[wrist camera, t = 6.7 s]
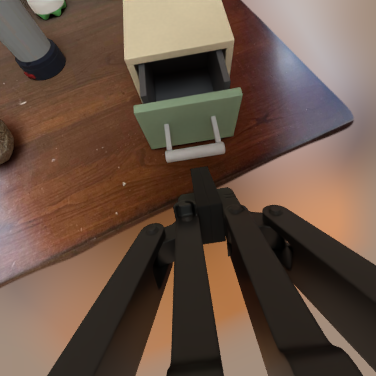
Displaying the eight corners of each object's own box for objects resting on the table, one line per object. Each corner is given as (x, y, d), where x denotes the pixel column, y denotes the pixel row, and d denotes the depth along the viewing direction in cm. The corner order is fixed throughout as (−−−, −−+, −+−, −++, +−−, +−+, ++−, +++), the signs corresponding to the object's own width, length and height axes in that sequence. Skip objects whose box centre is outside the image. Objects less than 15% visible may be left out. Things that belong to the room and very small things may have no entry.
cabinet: (226, 101, 32) (234, 39, 23) (146, 114, 33) (124, 59, 24) (210, 39, 38) (211, -30, 29) (142, 52, 38) (122, -13, 29)
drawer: (241, 167, 27) (254, 133, 20) (154, 181, 28) (135, 153, 20) (215, 67, 34) (218, 15, 27) (146, 79, 34) (130, 31, 27)
